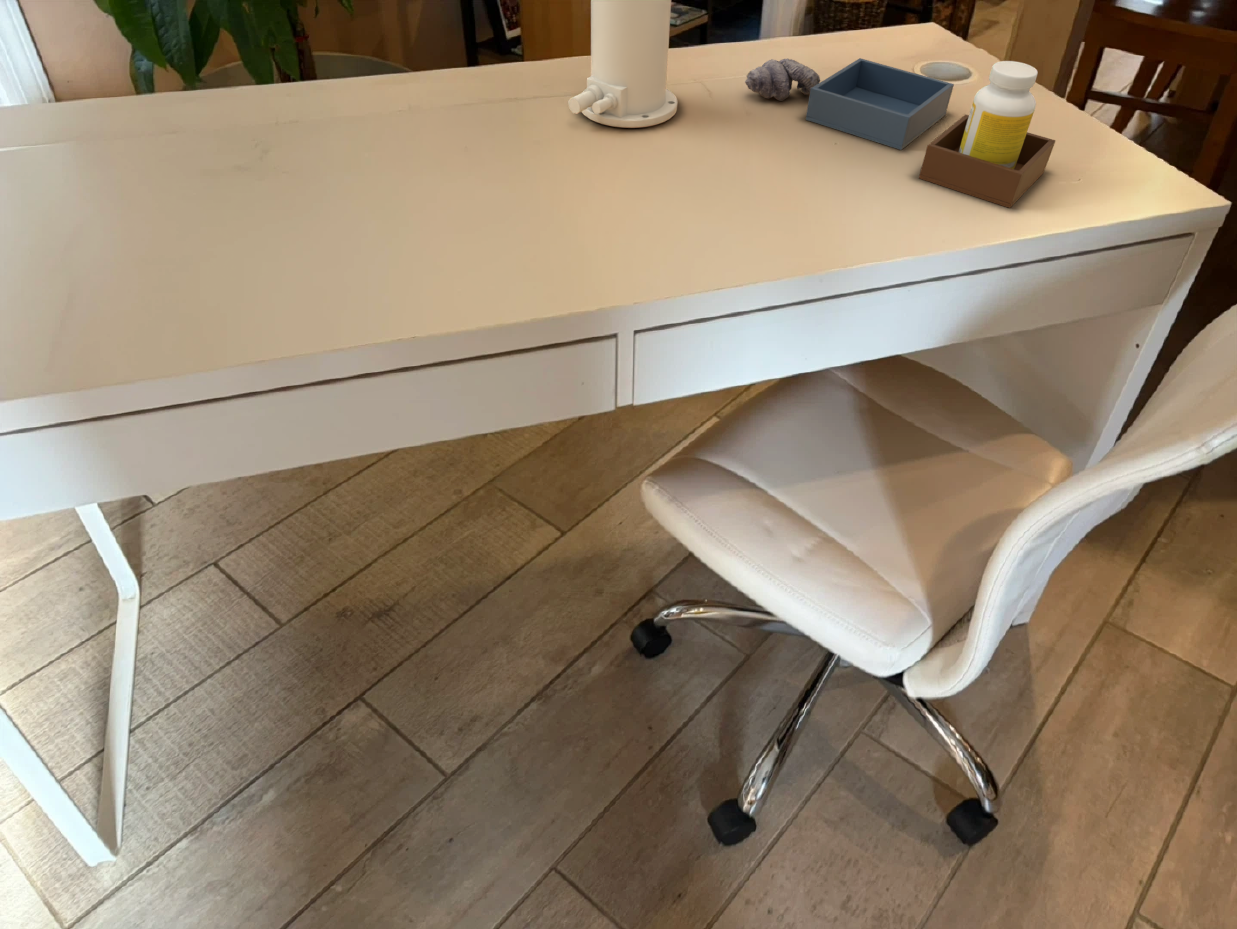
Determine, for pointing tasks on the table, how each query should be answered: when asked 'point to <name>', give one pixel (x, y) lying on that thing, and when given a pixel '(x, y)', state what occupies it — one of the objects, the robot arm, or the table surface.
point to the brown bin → (984, 167)
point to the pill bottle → (1001, 114)
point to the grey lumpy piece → (781, 78)
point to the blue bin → (879, 102)
